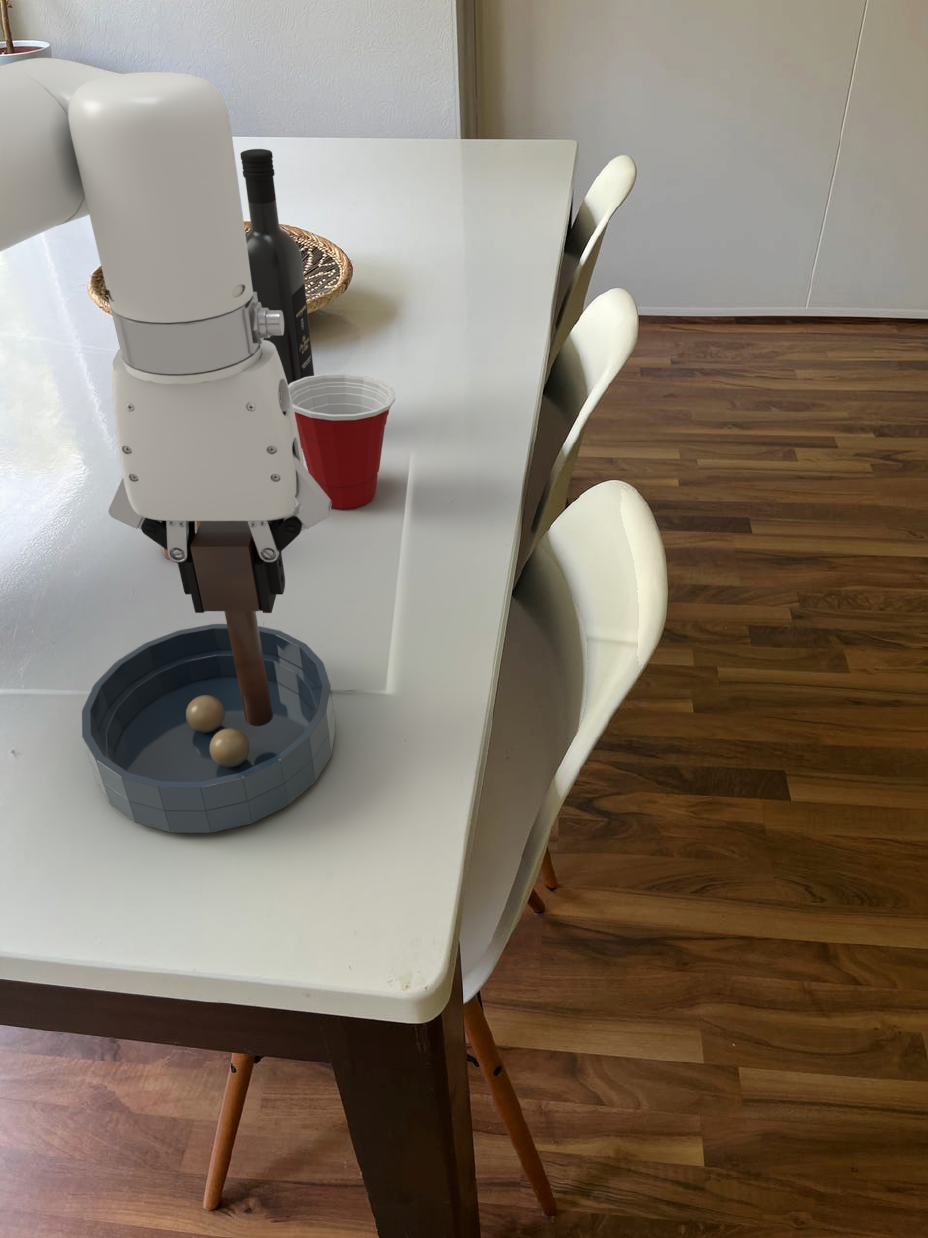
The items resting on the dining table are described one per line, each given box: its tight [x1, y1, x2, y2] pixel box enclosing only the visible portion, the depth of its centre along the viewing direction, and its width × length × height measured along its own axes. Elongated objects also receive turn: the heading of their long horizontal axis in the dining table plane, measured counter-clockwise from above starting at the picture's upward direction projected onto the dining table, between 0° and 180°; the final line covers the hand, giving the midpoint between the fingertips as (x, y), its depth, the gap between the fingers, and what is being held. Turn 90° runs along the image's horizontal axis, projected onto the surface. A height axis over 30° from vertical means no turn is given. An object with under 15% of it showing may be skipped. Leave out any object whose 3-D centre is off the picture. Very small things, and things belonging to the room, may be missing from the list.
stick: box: [191, 521, 273, 726], centre depth 67 cm, size 4×4×16 cm
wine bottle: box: [239, 148, 315, 385], centre depth 104 cm, size 6×6×30 cm
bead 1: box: [186, 695, 225, 733], centre depth 73 cm, size 3×3×3 cm
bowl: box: [81, 623, 336, 834], centre depth 72 cm, size 17×17×5 cm
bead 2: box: [210, 728, 250, 768], centre depth 71 cm, size 3×3×3 cm
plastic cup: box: [288, 373, 397, 511], centre depth 98 cm, size 11×11×12 cm
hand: (237, 598), depth 65 cm, fingers closed on stick, 3 cm apart
